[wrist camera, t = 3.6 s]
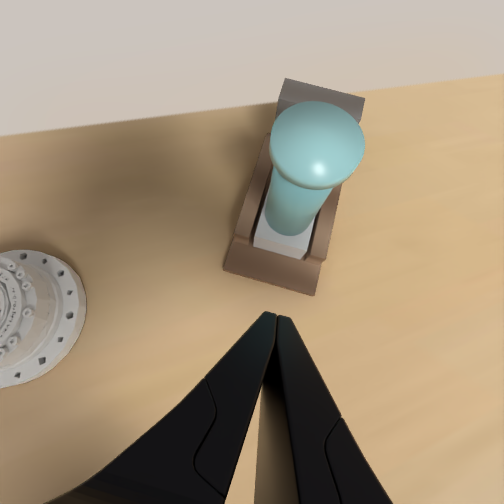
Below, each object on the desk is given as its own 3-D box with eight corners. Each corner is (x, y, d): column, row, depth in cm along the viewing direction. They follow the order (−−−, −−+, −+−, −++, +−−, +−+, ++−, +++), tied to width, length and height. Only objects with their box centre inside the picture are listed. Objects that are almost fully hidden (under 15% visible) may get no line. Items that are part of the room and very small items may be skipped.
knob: (302, 260, 22) (355, 198, 12) (250, 245, 22) (257, 171, 12) (315, 206, 24) (372, 109, 13) (266, 193, 24) (285, 87, 13)
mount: (312, 296, 22) (340, 282, 16) (223, 270, 22) (216, 246, 16) (343, 157, 26) (375, 101, 20) (266, 137, 26) (274, 75, 20)
